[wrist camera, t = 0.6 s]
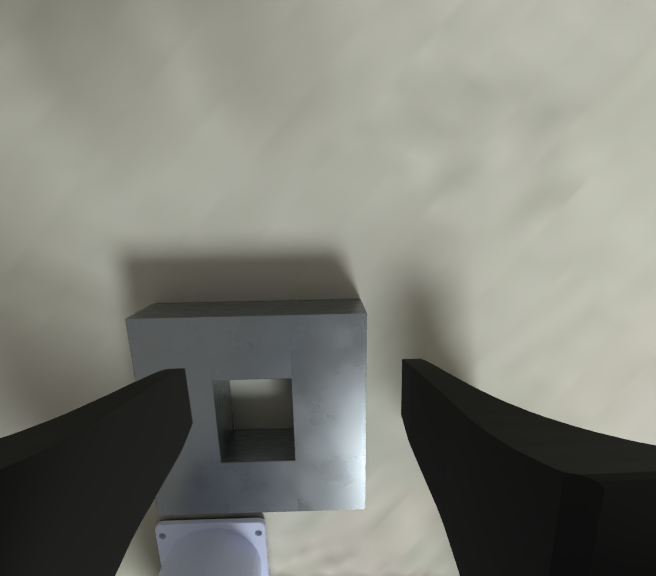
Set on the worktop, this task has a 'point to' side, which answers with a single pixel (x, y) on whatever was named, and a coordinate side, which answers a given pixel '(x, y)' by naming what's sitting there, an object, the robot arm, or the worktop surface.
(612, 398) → the worktop surface
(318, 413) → the flat gray square plate
